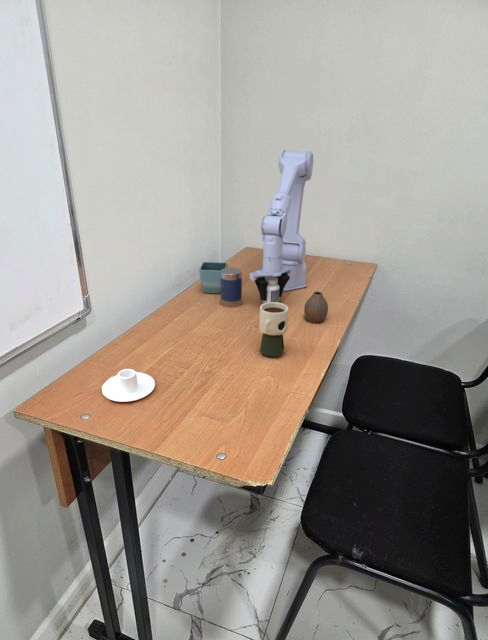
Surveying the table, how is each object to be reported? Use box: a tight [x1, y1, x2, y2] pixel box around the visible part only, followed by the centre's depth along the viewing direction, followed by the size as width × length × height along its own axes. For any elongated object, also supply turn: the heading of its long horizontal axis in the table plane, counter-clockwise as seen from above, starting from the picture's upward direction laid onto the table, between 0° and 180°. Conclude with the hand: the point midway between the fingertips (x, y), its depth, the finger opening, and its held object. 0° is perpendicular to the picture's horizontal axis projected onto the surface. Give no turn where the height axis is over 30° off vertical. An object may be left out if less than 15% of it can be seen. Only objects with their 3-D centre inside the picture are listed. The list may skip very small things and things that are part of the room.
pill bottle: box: [261, 276, 280, 305], centre depth 140 cm, size 5×5×9 cm
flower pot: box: [198, 261, 229, 294], centre depth 152 cm, size 9×9×9 cm
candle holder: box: [101, 368, 156, 403], centre depth 101 cm, size 12×12×4 cm
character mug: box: [258, 302, 289, 358], centre depth 114 cm, size 11×7×13 cm, turn 154°
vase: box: [303, 290, 329, 324], centre depth 132 cm, size 7×7×9 cm
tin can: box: [220, 266, 243, 308], centre depth 143 cm, size 7×7×11 cm
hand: (270, 297), depth 141 cm, fingers closed on pill bottle, 5 cm apart
